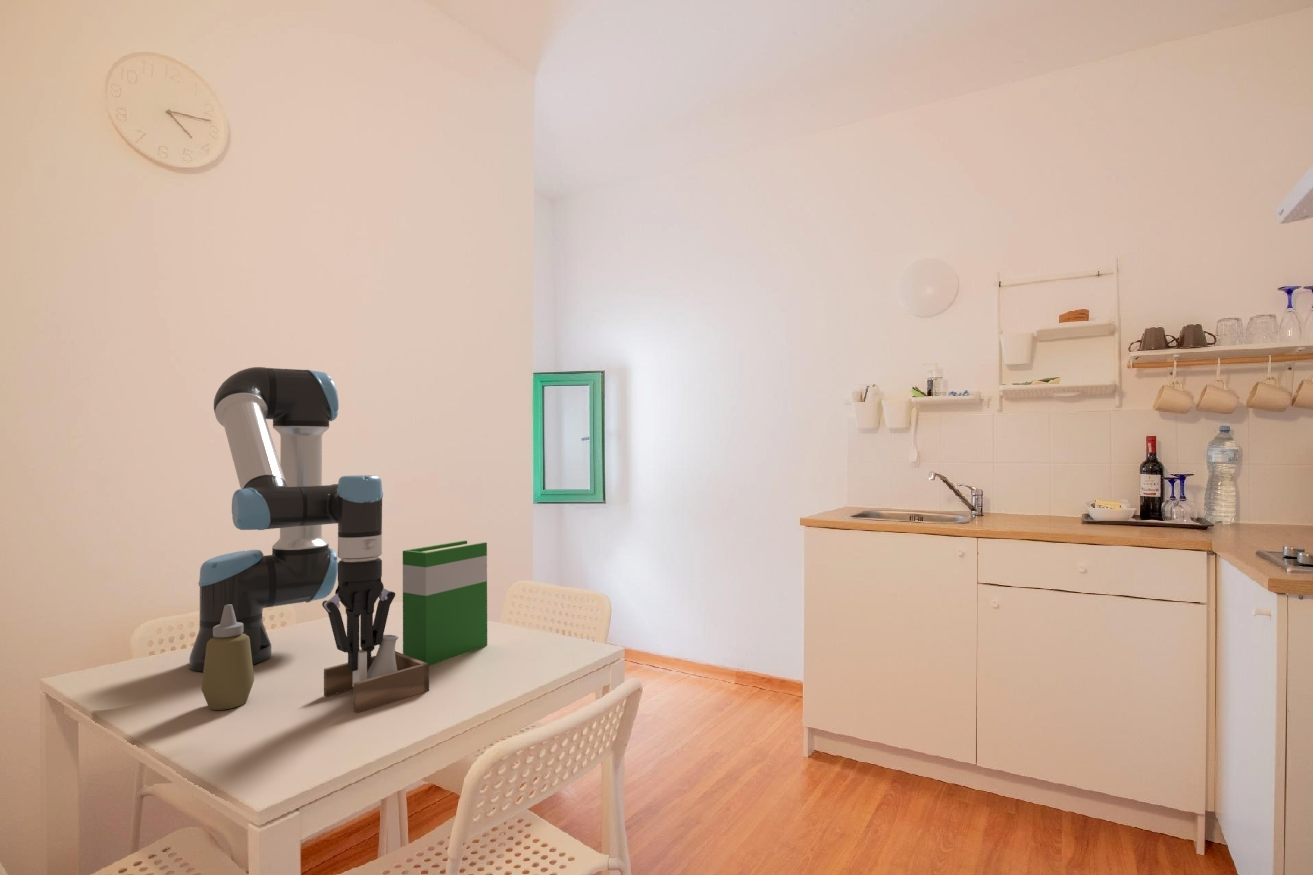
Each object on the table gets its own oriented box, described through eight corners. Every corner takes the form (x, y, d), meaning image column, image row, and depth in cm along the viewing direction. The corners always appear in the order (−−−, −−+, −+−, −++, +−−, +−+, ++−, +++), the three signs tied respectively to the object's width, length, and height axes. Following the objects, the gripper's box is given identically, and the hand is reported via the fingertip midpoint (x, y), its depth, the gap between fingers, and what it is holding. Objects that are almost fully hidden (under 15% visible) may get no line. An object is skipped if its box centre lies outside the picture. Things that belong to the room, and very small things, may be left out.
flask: (379, 697, 120) (389, 640, 122) (350, 689, 123) (359, 634, 124) (408, 691, 127) (417, 637, 128) (379, 684, 129) (388, 631, 131)
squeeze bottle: (214, 717, 115) (215, 612, 115) (192, 707, 119) (192, 607, 119) (263, 701, 121) (263, 603, 122) (240, 693, 126) (240, 598, 126)
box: (323, 695, 124) (323, 668, 124) (394, 675, 135) (394, 650, 135) (356, 713, 116) (356, 684, 116) (429, 690, 126) (429, 663, 126)
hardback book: (464, 640, 159) (464, 540, 159) (487, 645, 155) (486, 542, 155) (402, 661, 144) (402, 550, 144) (426, 667, 140) (425, 553, 140)
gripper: (333, 564, 116) (332, 701, 115) (403, 556, 126) (402, 681, 125) (315, 560, 121) (314, 691, 120) (383, 552, 130) (383, 673, 130)
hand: (359, 686), depth 122 cm, fingers closed
